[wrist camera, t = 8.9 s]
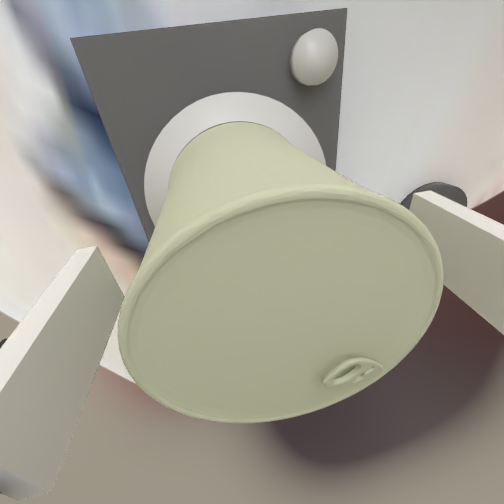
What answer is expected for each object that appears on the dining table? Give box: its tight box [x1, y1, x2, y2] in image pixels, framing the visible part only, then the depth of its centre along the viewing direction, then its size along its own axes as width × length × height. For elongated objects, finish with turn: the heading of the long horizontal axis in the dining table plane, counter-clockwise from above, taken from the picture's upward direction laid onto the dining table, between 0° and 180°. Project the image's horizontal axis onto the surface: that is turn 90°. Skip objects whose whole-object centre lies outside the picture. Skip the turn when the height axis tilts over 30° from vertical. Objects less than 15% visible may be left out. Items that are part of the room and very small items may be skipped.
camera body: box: [70, 8, 347, 242], centre depth 19 cm, size 18×14×5 cm
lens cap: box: [400, 182, 467, 210], centre depth 26 cm, size 7×7×2 cm
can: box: [118, 122, 444, 423], centre depth 12 cm, size 9×9×12 cm
